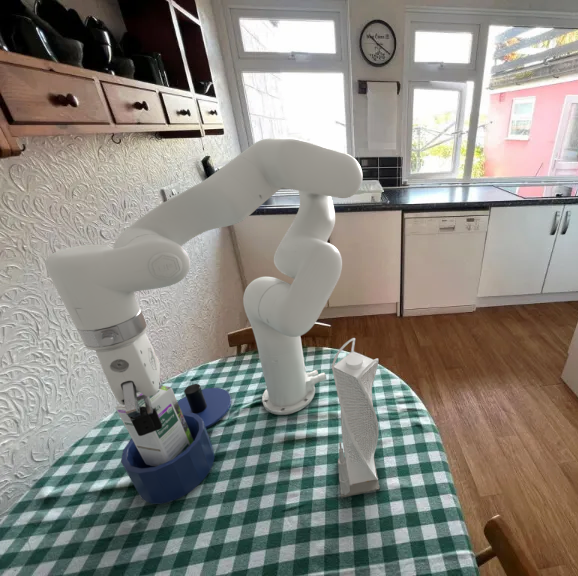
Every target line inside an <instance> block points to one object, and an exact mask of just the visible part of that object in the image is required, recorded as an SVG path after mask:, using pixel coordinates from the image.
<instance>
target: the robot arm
mask: <svg viewBox="0 0 578 576" xmlns="http://www.w3.org/2000/svg"><path fill="white" fill-rule="evenodd" d="M362 184H363V170H362V167H361V165H360V163H359V162H358V160H357V159H356V158H355V157H354V156H352V155H351V154H348V153H346V152H343V151H340V150H336V149H333V148H329V147H326V146H322V145H319V144H316V143H314V142H311V141H307V140H303V139H299V138H295V137H277V138H263V139H260V140H258V141H256V142H254V143H253V144H252V145H250V146H249V147H247V148H246V149H244V150H243V151H242V152H240V153H239V154H238V155H236V156H235V157H234V158H233V159H231V160H230V161H229V162H227V163H226V164H225V165H223V166H222V167H220V168H219V169H218V170H217V171H215V172H214V173H213V174H211V175H210V176H209V177H207V178H206V179H204V180H203V181H201V182H199V183H197V184H195V185H193V186H192V187H189V188H187V189H185V190H184V191H183V192H181V193H179V194H177V195H175V196H173V197H172V198H170V199H168V200H165V201H164V202H162V203H161V204H159V205H156V206H155V207H154V208H152V209H151V210H149V211H148V212H147V213H146V214H144V215H143V216H142V217H140V218H138V219H137V220H136V221H135V222H133V223H132V224H130V226H128V227H127V228H126V229H124V230H123V231H122V232H120V234H119V235H118V237H117V238H116V239H115V241H114V244H113V246H111V245H108V244H101V243H91V244H83V245H76V246H71V247H66V248H63V249H60V250H57V251H55V252H53V253H51V254H49V256H48V257H46V259H45V262H44V263H45V269H46V271H47V273H48V275H49V277H50V279H51V281H52V283H53V285H54V287H55V289H56V291H57V293H58V295H59V297H60V299H61V301H62V303H63V304H64V306H65V309H66V311H67V313H68V315H69V317H70V319H71V321H72V323H73V324H74V327H75V329H76V330H77V332H78V334H79V336H80V339H81V341H82V342H83V345H84V347H85V348H86V349H87V350H90V351H95V353H96V356H97V358H98V362H99V364H100V367H101V369H102V371H103V375H104V376H105V379H106V382H107V383H108V386H109V388H110V390H111V392H112V394H113V396H114V398H115V399H116V401H117V403H118V404H122V405H125V411H126V414H127V415H128V416H129V418H130V420H131V421H132V423H133V425H134V427H135V429H136V432H137V434H138V435H139V436H143V435H145V434H148V433H151V432H153V431H156V430H159V429H161V428H162V423H161V421H160V418H159V416H158V414H157V411H156V409H155V408H154V409H152V405H151V401H150V397H149V396H152V395H153V396H154V395H156V393H157V392H158V389H159V385H161V383H160V379H161V378H160V377H161V363H160V361H159V358H158V356H157V354H156V351H155V349H154V347H153V345H152V342H151V341H150V339H149V335H147V331H148V329H149V328H148V324H147V322H146V319H145V317H144V314H143V311H142V310H141V306H140V304H139V301H138V299H137V296H136V292H141V291H142V292H143V291H149V290H156V289H162V288H168V287H170V286H173V285H176V284H178V283H179V282H181V281H182V280H184V279H185V278H186V277H187V276H188V274H189V272H190V269H191V258H190V256H189V254H188V252H187V251H186V249H185V248H183V247H182V246H184V245H185V244H186V243H187V242H189V241H191V240H192V239H193V238H196V237H197V236H199V235H201V234H204V233H206V232H209V231H211V230H215V229H220V228H225V227H229V226H230V227H231V226H234V225H236V224H239V223H242V222H243V221H246V219H248V217H249V216H250V215H252V214H253V213H254V212H255V211H256V210H257V209H258V208H260V207H261V206H262V205H263V204H264V203H265V202H267V201H268V200H269V199H270V198H271V197H273V196H274V195H275V194H276V193H277V192H278V191H280V190H281V189H286V190H292V191H293V190H294V191H298V196H299V207H298V211H297V213H296V215H295V217H294V218H293V221H292V222H291V224H290V226H289V228H288V229H287V231H286V233H284V236H283V237H282V239H281V241H280V243H279V244H278V246H277V248H276V250H275V252H274V255H273V264H274V266H275V268H276V269H277V270H278V271H279V272H280V273H281V274H283V275H285V276H287V277H289V278H291V279H293V281H292V282H291V283H289V282H287V281H285V280H283V279H280V278H277V277H274V276H260V277H257V278H255V279H253V280H252V281H251V282H250V283H249V284H248V285H247V286H246V288H245V290H244V293H243V297H242V298H243V299H242V301H243V302H242V304H243V308H244V309H243V310H244V312H245V315H246V317H247V319H248V322H249V324H250V327H251V330H252V333H253V336H254V340H255V343H256V347H257V353H258V357H259V362H260V366H261V370H262V374H263V379H264V384H265V390H264V392H263V394H262V396H261V400H262V401H261V403H262V405H263V407H264V409H265V410H266V411H267V412H269V413H271V414H274V415H277V416H284V415H285V416H286V415H291V414H295V413H297V412H299V411H302V410H303V409H304V408H305V407H307V406H308V405H309V404H310V403H311V402H312V400H313V399H314V397H315V393H316V387H315V386H316V384H317V383H321V382H324V381H326V380H327V374H326V373H325V372H321V373H319V372H318V369H314V370H312V371H310V372H308V371H306V364H305V357H304V351H303V345H302V338H301V336H303V335H305V334H307V333H308V332H309V331H310V330H311V329H312V328H313V327H314V326H315V324H316V322H317V321H318V319H319V318H320V315H321V314H322V312H323V310H324V309H325V306H326V305H327V303H328V301H329V299H330V297H331V295H332V294H333V292H334V290H335V287H336V286H337V284H338V282H339V280H340V277H341V274H342V268H343V258H342V255H341V252H340V251H339V250H338V248H337V247H336V246H334V245H333V244H331V243H330V242H328V241H329V239H330V236H331V234H332V233H333V230H334V228H335V226H336V225H335V223H336V210H335V207H334V201H333V199H332V198H337V199H347V198H351V197H353V196H354V195H356V194H357V193H358V192H359V190H360V189H361V186H362ZM137 392H141V393H142V394H144V395H141V396H138V397H137V395H136V393H137ZM142 399H144V402H145V406H146V407H143V406H142V407H140V406H139V405H138V402H137V401H139V400H142Z"/></svg>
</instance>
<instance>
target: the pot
mask: <svg viewBox="0 0 578 576" xmlns="http://www.w3.org/2000/svg"><path fill="white" fill-rule="evenodd" d="M182 414H183V416H184V419H185V421H186V424H187V426H188V428H189V431H190V433H191V435H192V438H193V440H194V441H193V443H192V444H191V445H190V446H189V447H188V448H187V449H186V450H185V451H184V452H183V453H181V454H180V455H178V456H177V457H175V458H174V459H173V460H171V461H168V462H166V463H164V464H161V465H159V466H156V467H155V466H151V465H147V464H145V462H144V460H143V458H142V456H141V455H140V453H139V451H138V449H137V447H136V445H135V443H134V442H133V440H132V438H131V437H130V439H129V441H128V442H127V444H126V445H125V447H124V448H123V451H122V453H121V459H120V460H121V461H120V463H121V465H122V466H123V467H122V468H124V470H125V472H126V474H127V476H128V477H129V479H130V481H131V483H132V484H133V487H134V488H135V491H136V492H137V493H138V495H139V496H140V498H141V499H142V500H143V501H144V502H146V503H149V504H153V505H163V504H166V503H170V502H173V501H176V500H178V499H180V498H182V497H184V496H186V495H187V494H189V493H190V492H192V491H193V490H194V489H196V488H197V487H198V486H199V485H200V484H201V483H202V482H203V481H204V480H205V479H206V478H207V476H208V474H209V473H210V471H211V470H212V468H213V465H214V462H215V451H214V447H213V444H212V441H211V439H210V436H209V433H208V430H207V428H206V427H205V424H204V422H203V420H202V419H201V418H200V417H199V416H198V415H197V414H193V413H189V412H183V413H182Z"/></svg>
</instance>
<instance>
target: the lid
mask: <svg viewBox="0 0 578 576" xmlns="http://www.w3.org/2000/svg"><path fill="white" fill-rule="evenodd" d="M183 393H184V397H182V398H181V399H179V400H177V402H178V404H179V407H180V409H181V411H182V413H183V412H189V413H193V414H197V415H198V416H199V417H200V418H201V419H202V420H203V422H204V424H205V427H206V429H208V428H210V427H212V426H213V425H215V424H217V423H218V422H220V421H221V419H223V417H225V416H226V415H227V413H228V411H229V410H230V408H231V407H232V406H231V405H232V397H231V394H230V392H229V391H227V390H226V389H223V388H220V387H207V388H202V387H201V385H200V384H199V383H193V384H190V385H188V386H187V387H185V388H184V390H183Z"/></svg>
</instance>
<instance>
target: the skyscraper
mask: <svg viewBox="0 0 578 576" xmlns="http://www.w3.org/2000/svg"><path fill="white" fill-rule="evenodd" d="M350 343H351V351H350V352H349V353H347V354H346V355H345V356H343V358H341V359H340V360H339V361H337V359H338V357H339V355H340V354H341V352H342V351H343V350H344V349H345V347H346V346H348V344H350ZM355 344H356V338H355V337H352V338H350V339H348V341H346V342H345V343H344V344H343V345H342V346H341V347H340V348H338V350H337V352H336V354H335V355H334V358H333V361H332V364H331V369H332V374H333V375H332V376H333V379H334V384H335V389H336V390H335V391H336V395H337V398H338V403H339V406H340V428H341V438H342V442H341V441H339V442H338V446H339V448H338V456H339V458H338V459H337V465H338V480H339V490H340V491H339V493H340V498H342V499H343V498H346V497H347V498H348V497H351V496H356V495H361V494H365V493H371V492H376V491H380V485H379V484H380V483H379V477H378V472H377V467H376V462H375V461H376V460H375V453H376V450H377V447H378V441H379V434H380V433H379V432H380V431H379V430H380V429H379V421H378V417H377V413H376V410H375V407H374V404H373V386H374V382H375V377H376V373H377V369H378V366H379V358H375V359H373V358H370V357H368V356H366V355H364V354H361V353H359V352H357V351H355ZM342 446H343V447H342Z"/></svg>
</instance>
